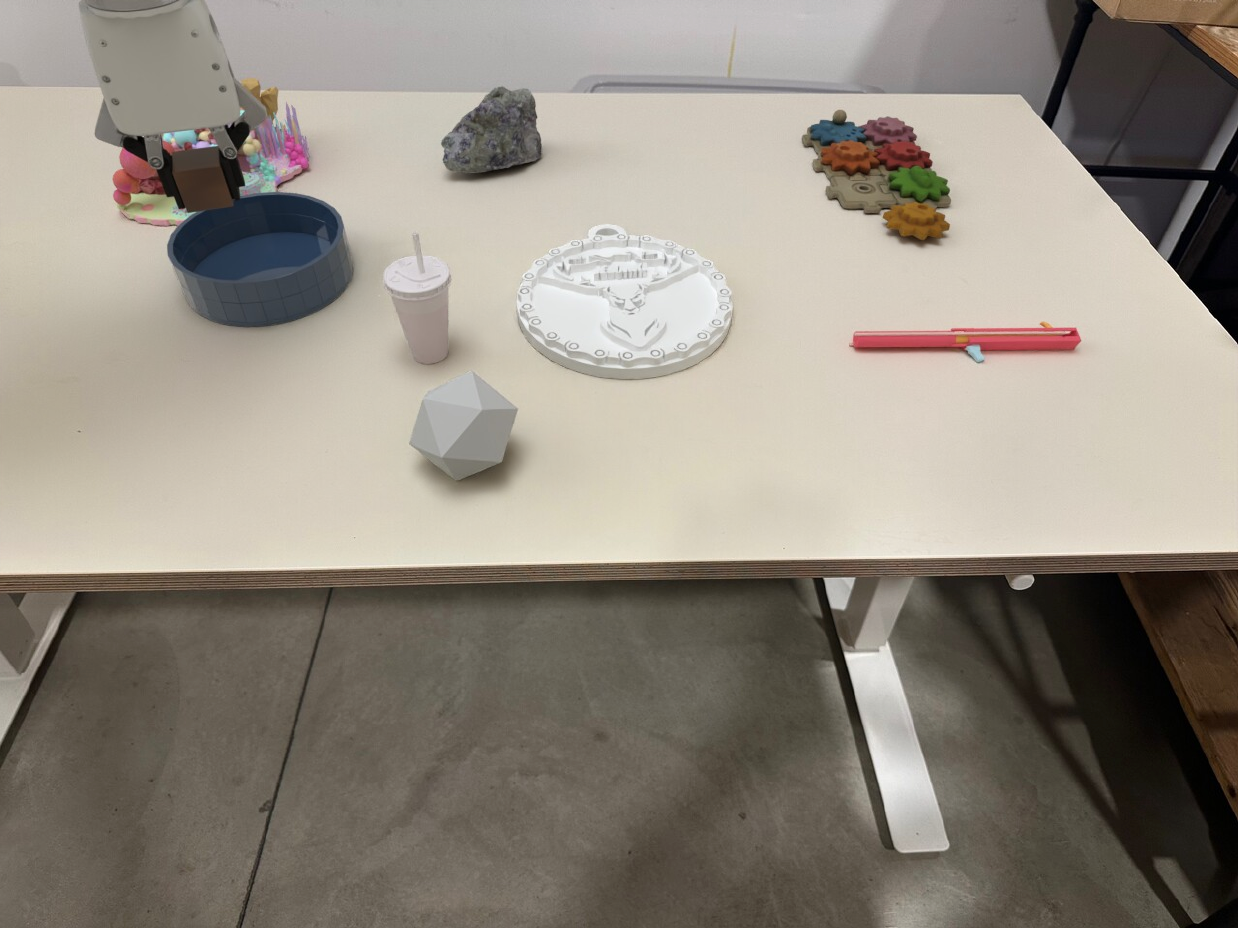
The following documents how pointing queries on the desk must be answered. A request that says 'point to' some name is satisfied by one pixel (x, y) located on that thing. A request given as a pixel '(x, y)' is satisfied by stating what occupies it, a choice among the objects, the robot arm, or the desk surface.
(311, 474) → the desk surface
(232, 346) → the desk surface
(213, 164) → the block
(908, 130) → the gear puzzle
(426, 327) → the smoothie
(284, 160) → the pastel sphere sculpture
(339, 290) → the bowl
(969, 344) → the red long bar
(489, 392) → the die
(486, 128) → the mineral rock
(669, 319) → the medallion
